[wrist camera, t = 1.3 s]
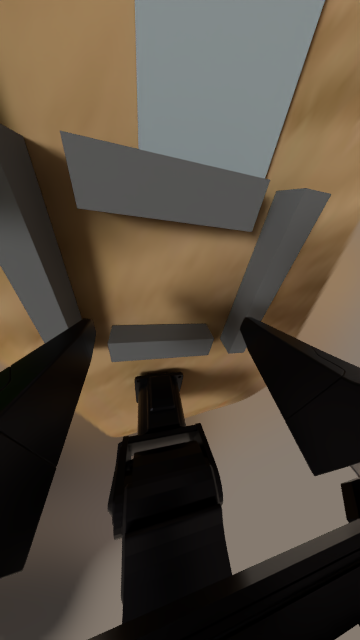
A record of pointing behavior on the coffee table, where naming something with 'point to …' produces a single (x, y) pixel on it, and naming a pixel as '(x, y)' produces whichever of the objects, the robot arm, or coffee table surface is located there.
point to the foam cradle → (150, 202)
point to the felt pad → (219, 77)
